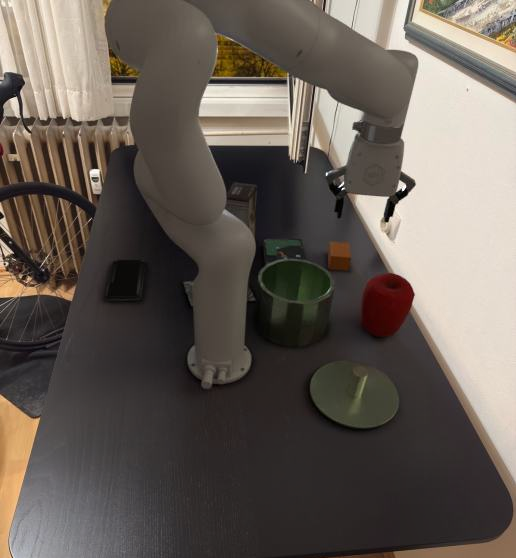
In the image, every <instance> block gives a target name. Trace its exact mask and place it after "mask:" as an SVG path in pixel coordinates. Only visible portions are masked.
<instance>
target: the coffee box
mask: <svg viewBox="0 0 516 558" xmlns="http://www.w3.org/2000/svg"><path fill="white" fill-rule="evenodd" d="M226 198H227V199H226V206H225V210H227V211H228V212H230V213H231V214H232V215H234V216H235V217H237V218H238V219H239V220H241V221H242V222H243V223H244V224H245V225H246V226H247V227H248V228H249V230H250V231H251V232H252V234H253V236H254V238H255V235H256V233H255V232H256V217H257V202H258V201H257V200H258V199H257V198H258V185H257V184H251V183H243V182H234V181H233V182H232V184H231V186H230V187H229V189H228V191H227V192H226Z"/></svg>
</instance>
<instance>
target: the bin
mask: <svg viewBox="0 0 516 558" xmlns="http://www.w3.org/2000/svg"><path fill="white" fill-rule="evenodd" d="M257 276H258V277H257V287H256V288H257V289H256V299H255V301H256V303H255V304H256V305H255V316H254V323H255V327H256V329H257V331H258V332H259V333H260V335H261V336H263V337H264V338H265V339H266V340H268V341H270V342H272V343H274V344H276V345H280V346H284V347H289V348H290V347H291V348H292V347H294V348H297V347H298V348H299V347H305V346H309V345H312V344H314V343H316V342H317V341H319V340H320V339H321V338H323V336H324V334H325V332H326V330H327V328H328V322H329V318H330V313H331V308H332V303H333V298H334V293H335V288H336V286H335V278H334V277H333V275H332V274H331V273H330V271H329V269H326V268H324V267H323V266H322V265H320V264H318V263H316V262H313V261H309V260H307V259H306V260H301V259H282V260H276V261H273V262H271V263H269V264H267V265H265V264H264V266H263V267H262V268H261V269H260V270H259V272H258V275H257Z"/></svg>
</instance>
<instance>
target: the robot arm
mask: <svg viewBox="0 0 516 558" xmlns="http://www.w3.org/2000/svg"><path fill="white" fill-rule="evenodd" d="M103 24H104V32H105V33H104V34H105V37H106V41H107V44H108V46H109V47H110V50H111V51H112V52H113V54H114V55H115V56H116V57H117V59H119V61H120V62H122V63H123V64H124V65H126V66H127V67H129V68H131V69H133V70H134V71H137V72H139V73H138V76H137V78H136V81H135V84H134V85H135V86H134V89H133V93H132V97H131V103H130V107H129V108H130V109H129V129H130V132H131V136H132V138H133V141H134V143H135V145H136V147H137V150H138V151H137V153H136V155H135V158H134V163H133V176H134V181H135V185H136V186H137V189H138V191H139V193H140V194H141V196H142V197H143V199H144V201H145V203H146V204H147V206H148V207H149V209H150V211H151V212H152V214H153V216H154V217H155V219H156V220H157V222H158V224H159V225H160V227H161V228H162V230H163V231H164V233H165V234H166V235H167V237H168V238H169V239H170V240H171V241H172V242H173V243H174V244H175V245H176V246H178V247H179V248H180V249H181V250H182V251H184V252H185V253H186V254H187V255H188V257H190V258H191V259H192V260H193V261H194V262H195V263H196V265H197V268H198V273H197V275H196V277H195V278H194V280H193V281H194V283H193V289H192V294H193V306H192V310H193V311H192V312H193V337H194V338H193V339H194V344H193V345H192V346H191V348H190V349H189V351H188V353H187V356H186V357H187V359H186V360H187V367H188V369H189V371H190V372H191V373H192V375H193V376H194V377H196V378H197V379H198V380H201V383H200V386H201V388H203V389H205V390H209V389H211V388H212V386H213V384H214V385H224V384H230V383H233V382H237V381H238V380H240V379H241V378H243V377H245V376H246V374H248V372H249V370H250V369H251V366H252V365H251V364H252V354H251V352H250V350H249V348H248V347H247V346H246V345H245V341H246V340H245V339H246V338H245V337H246V321H247V320H246V319H247V303H248V301H247V287H248V286H249V278H250V274H251V269H252V265H253V262H254V259H255V256H256V251H257V244H256V239H255V237H254V236H253V234H252V232H251V231H250V230H249V228H248V227H247V226H246V225H245V224H244V223H243V222H242V221H241V220H239V219H238V218H237V217H235V216H234V215H232V214H231V213H230V212H228V211H227V210H225V206H226V199H227V198H226V194H227V190H226V189H227V188H226V185H225V182H224V179H223V177H222V173H221V172H220V169H219V168H218V165H217V163H216V160H215V158H214V157H213V156H214V155H213V154H212V151H211V148H210V147H209V144H208V142H207V140H206V137H205V134H204V131H203V128H202V125H201V121H200V108H201V104H202V100H203V98H204V94H205V92H206V89H207V87H208V85H209V83H210V81H211V79H212V76H213V74H214V71H215V68H216V65H217V60H218V51H219V50H218V47H219V46H218V39H217V36H219V37H223V38H226V39H228V40H230V41H232V42H235V43H236V44H238V45H240V46H242V47H244V48H245V49H246V50H249V51H250V52H252V53H253V54H255V55H257V56H259V57H261V58H262V59H264V60H265V61H267V62H269V63H271V64H272V65H274V66H275V67H277V68H278V69H280V70H282V71H284V72H285V73H287V74H289V75H290V76H291V77H294V78H296V79H297V80H300V81H302V82H304V83H307V84H309V85H311V86H313V87H316V88H319V89H322V90H325V91H327V93H328V95H329V96H330V97H331V98H332V99H333V100H334V101H335V102H337V103H339V104H341V105H344V106H347V107H349V108H352V109H354V110H358V111H360V112H362V114H361V115H362V116H361V118H360V119H359V121H358V120H357V121H353V122H352V124H351V125H352V126H351V130H352V131H356V132H357V133H356V134H355V135H354V137H353V139H352V143H351V146H350V149H349V153H348V156H347V160H346V164H345V165H343V166H340V167H337V168H335V169H333V170H330V171H328V172H326V173H325V181H326V183H327V186H328V188H329V190H330V192H331V193H332V194H333V195H334V197H335V203H334V207H333V208H334V210H333V212H334V213H336V218H337V219H341V218H342V215H343V209H344V204H345V196H347V195H348V194H351V195H357V196H369V197H384V198H387V199H386V203H385V207H384V211H383V220H384V223H386V224H387V223H388V224H389V223H390V219H391V218H393V217H394V214H395V209H396V205H398V204H399V203H400V202H401V201H402V200H403V199H405V198H407V197H408V196H409V193H410V192H412V190H413V189H414V188H415V187H416V185H417V183H416V180H415V179H414V178H413V177H411V176H409V175H408V174H406V173H405V172H404V171H402V168H403V162H404V155H405V141H404V139H402V135H403V131H404V127H405V123H406V120H407V115H408V110H409V107H410V103H411V99H412V94H413V90H414V86H415V83H416V82H415V81H416V78H417V74H418V70H419V58H418V56H416V55H415V54H414V53H412V52H410V51H407V50H401V49H386V48H384V47H382V46H381V45H380V44H378V43H377V42H375V41H372V40H371V39H369V38H368V37H366V36H365V35H363V34H361V33H359V32H358V31H356V30H354V29H353V28H352V27H351V26H349V25H347V24H345V23H344V22H342V21H340V20H339V19H338V18H335V17H334V16H332V15H330V14H328V13H327V12H326V11H325V10H324V9H322V8H321V7H319V6H318V5H317V4H316V3H315V2H313V0H110V2H109V3H108V6H107V8H106V10H105V15H104V23H103ZM340 177H343V182H342V183H341V184H340V185H339V186H338V185H337V183H336V182H335V179H338V178H340ZM400 182H402V183H403V184H405V185H403V187H402V188H400V189H399V190H398V187H399V183H400Z"/></svg>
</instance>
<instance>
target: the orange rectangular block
mask: <svg viewBox="0 0 516 558" xmlns="http://www.w3.org/2000/svg"><path fill="white" fill-rule="evenodd" d="M351 253H352V252H351V247H350V243H349V242H339V241H329V245H328V249H327V264H328V270H331V271H342V272H343V271H344V272H349V269H350V266H351V262H352V254H351Z"/></svg>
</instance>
